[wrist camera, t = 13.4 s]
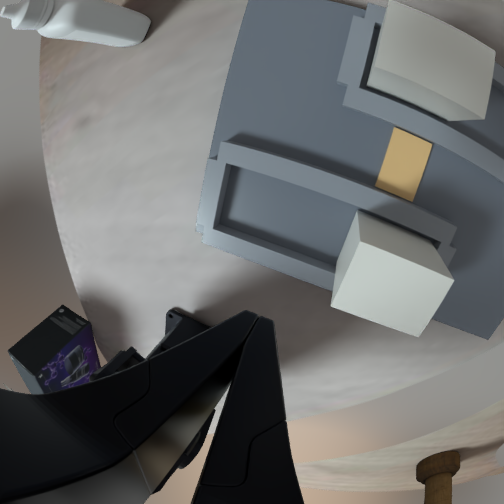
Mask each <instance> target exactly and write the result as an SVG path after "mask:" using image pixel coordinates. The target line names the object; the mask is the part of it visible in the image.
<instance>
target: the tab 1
mask: <svg viewBox="0 0 504 504" xmlns="http://www.w3.org/2000/svg"><path fill="white" fill-rule="evenodd" d="M495 54H496V51H494V50H493V49H491V48H490V47H488V46H487V45H485V44H483V43H482V42H480V41H479V40H477V39H475V38H473V37H472V36H470V35H468V34H466V33H465V32H463V31H461V30H459V29H457V28H455V27H454V26H452V25H450V24H448V23H446V22H444V21H442V20H439V19H437V18H435V17H433V16H431V15H429V14H426V13H424V12H422V11H419V10H417V9H414V8H412V7H409V6H407V5H404V4H402V3H399V2H396V1H393V0H389V2H388V5H387V9H386V12H385V16H384V19H383V23H382V26H381V29H380V33H379V37H378V41H377V45H376V50H375V54H374V58H373V62H372V66H371V70H370V74H369V78H368V82H367V87H370V88H373V89H375V90H378V91H381V92H383V93H386V94H389V95H391V96H394V97H396V98H398V99H401V100H403V101H406V102H408V103H410V104H412V105H415V106H417V107H419V108H421V109H423V110H426V111H428V112H430V113H432V114H434V115H436V116H438V117H440V118H442V119H444V120H446V121H460V120H483V119H485V115H486V111H487V106H488V101H489V96H490V90H491V84H492V78H493V71H494V63H495Z"/></svg>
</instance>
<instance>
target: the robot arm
mask: <svg viewBox="0 0 504 504" xmlns="http://www.w3.org/2000/svg"><path fill="white" fill-rule="evenodd" d="M136 351H137V350H136V349H134V348H133V347H132V346H131V347H130V348H129V349H128V350H127V351H125V350H124V351H120V352H119V353H118V354H117V355H116V356H115V357H114V358H113V359H112V360H111V361H110V362H108V363H107V364H106V365H104V366H103V367H101V368H100V369H98V370H97V371H95V372H94V373H92V374H91V376H90V377H89V382H88V383H84V384H81V385H77V386H74V387H70V388H67V389H63V390H59V391H55V392H51V393H45V394H24V393H19V392H14V391H9V390H5V389H0V504H144V503H145V501H146V500H147V499H148V498H149V496H150V495H151V494H154V493H156V492H158V491H160V490H161V489H162V487H163V486H164V485H165V483H166V482H167V480H168V479H169V478H170V476H171V475H172V474H173V473H174V472H175V470H176V469H177V468H179V469H183V468H184V467H186V466H187V465H188V464H190V462H191V461H192V460H193V459H194V458H195V456H196V455H197V454H198V452H199V451H200V449H201V447H202V446H203V443H204V441H205V438H206V435H207V433H208V430H209V427H210V425H211V422H212V419H213V416H214V413H215V411H216V410H215V409H214V408H215V407H216V405H217V404H218V402H219V401H220V399H221V398H222V396H223V395H224V393H225V392H226V390H227V389H228V387H229V385H230V384H231V385H230V388H229V391H228V394H227V397H226V400H225V403H224V406H223V409H222V412H221V415H220V418H219V421H218V424H217V427H216V430H215V433H214V437H213V440H212V443H211V446H210V449H209V452H208V455H207V457H206V461H205V463H204V466H203V469H202V472H201V475H200V478H199V481H198V484H197V487H196V490H195V493H194V495H193V498H192V501H191V504H304V501H303V497H302V494H301V490H300V486H299V483H298V479H297V476H296V472H295V467H294V463H293V459H292V455H291V449H290V442H289V436H288V429H287V422H286V421H285V420H286V413H285V404H284V396H283V388H282V380H281V372H280V364H279V356H278V349H277V341H276V333H275V325H274V321H273V320H270V319H268V318H265V317H263V316H260V317H259V316H258V315H257V314H255V313H252V312H250V311H247V310H245V311H242V312H241V313H239V314H237V315H235V316H233V317H231V318H229V319H227V320H225V321H224V322H222V323H220V324H218V325H216V326H214V327H212V328H211V327H209V326H207V325H205V324H202V323H200V322H198V321H196V320H194V319H191V318H189V317H187V316H185V315H183V314H181V313H179V312H177V311H174V310H172V309H171V310H169V311H168V312H167V314H166V329H165V337H164V338H163V339H162V340H161V341H160V342H159V344H158V345H157V346H156V347H155V348H154V349H153V350H152V352H151V353H150V354H149V355H148V356H147V357H146V359H145V358H143V357H142V356H141V355H140V354H139V353H137V352H136Z"/></svg>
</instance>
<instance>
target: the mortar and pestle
mask: <svg viewBox="0 0 504 504" xmlns="http://www.w3.org/2000/svg"><path fill="white" fill-rule="evenodd" d="M459 469H460V455H459V453H458V452H455V451H446V452H442V453H438V454H435V455H432V456H429V457H427V458H425V459H423V460H422V461H420V462H419V463H418V464H417V467H416V479H417V481H418V482H421V483H422V484H425V501H424V504H452V477H453V476H454V475H455V474H456V472H457V471H458V470H459Z"/></svg>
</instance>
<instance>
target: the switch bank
mask: <svg viewBox="0 0 504 504" xmlns="http://www.w3.org/2000/svg"><path fill="white" fill-rule="evenodd" d="M386 9H387V8H384V7H381V6H378V5H374V4H371V3H368V4H367V9H366V10H364V9H360V8H357V7H353V6H349V5H345V4H341V3H337V2H333V1H328V0H249V1H248V4H247V7H246V11H245V14H244V17H243V21H242V24H241V27H240V31H239V34H238V38H237V42H236V45H235V49H234V52H233V56H232V60H231V64H230V68H229V72H228V75H227V79H226V83H225V87H224V92H223V96H222V100H221V104H220V109H219V113H218V117H217V122H216V126H215V131H214V135H213V140H212V145H211V150H210V155H209V158H208V160H207V165H206V170H205V176H204V181H203V186H202V192H201V197H200V203H199V209H198V215H197V221H196V223H197V226H196V231H197V232H200V233H203V236H202V243H205V244H207V245H210V246H213V247H215V248H218V249H220V250H223V251H226V252H228V253H231V254H234V255H236V256H239V257H242V258H244V259H247V260H249V261H252V262H255V263H257V264H260V265H263V266H265V267H268V268H271V269H273V270H276V271H279V272H281V273H284V274H287V275H289V276H292V277H295V278H297V279H300V280H303V281H305V282H308V283H311V284H313V285H316V286H319V287H321V288H324V289H327V290H329V291H332V292H333V286H334V279H335V271H336V263H337V260H338V257H339V255H340V252H341V250H342V247H343V245H344V242H345V240H346V237H347V235H348V232H349V230H350V227H351V225H352V222H353V219H354V217H355V214H356V212H357V210H359V211H361V212H364V213H366V214H369V215H371V216H374V217H376V218H379V219H381V220H384V221H386V222H389V223H391V224H393V225H396V226H398V227H401V228H403V229H405V230H408V231H410V232H412V233H415V234H417V235H419V236H421V237H424V238H426V239H428V240H430V241H431V243H432V244H433V246H434V247H435V249H436V250H437V252H438V254H439V255H440V257H441V258H442V260H443V262H444V263H445V265H446V267H447V268H448V270H449V272H450V273H451V275H452V277H453V279H454V282H453V284H452V285H451V287H450V289H449V291H448V292H447V294H446V296H445V297H444V299H443V301H442V302H441V304H440V306H439V307H438V309H437V310H436V312H435V313H434V315H433V317H432V318H431V319H434V320H436V321H439V322H442V323H444V324H447V325H450V326H452V327H455V328H458V329H460V330H463V331H466V332H468V333H471V334H474V335H476V336H479V337H482V338H485V339H487V340H488V339H489V338H490V337H491V335H492V334H493V333H494V331H495V330H496V328H497V327H498V325H499V324H500V322H501V321H502V319H503V318H504V68H503V67H502V66H501V65H499V64H498V63H496V62H495V63H494V71H493V78H492V84H491V90H490V96H489V101H488V106H487V111H486V115H485V119H483V120H460V121H446V120H444V119H442V118H440V117H438V116H436V115H434V114H432V113H430V112H428V111H426V110H423V109H421V108H419V107H417V106H415V105H412V104H410V103H408V102H406V101H403V100H401V99H398V98H396V97H394V96H391V95H389V94H386V93H383V92H381V91H378V90H375V89H373V88H370V87H367V82H368V78H369V74H370V70H371V66H372V62H373V58H374V54H375V50H376V45H377V41H378V37H379V33H380V29H381V26H382V23H383V19H384V16H385V12H386Z"/></svg>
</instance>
